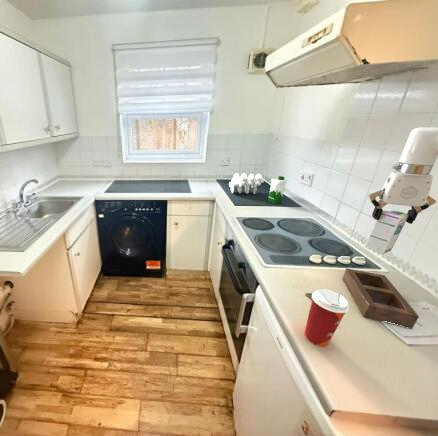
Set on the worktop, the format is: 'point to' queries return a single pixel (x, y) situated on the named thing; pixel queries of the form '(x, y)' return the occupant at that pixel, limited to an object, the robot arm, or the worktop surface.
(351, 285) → the holder
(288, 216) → the worktop surface
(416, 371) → the worktop surface
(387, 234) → the syrup box
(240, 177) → the white lumpy cluster
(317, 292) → the coffee cup
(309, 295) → the meat cleaver
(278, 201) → the milk carton
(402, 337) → the worktop surface
